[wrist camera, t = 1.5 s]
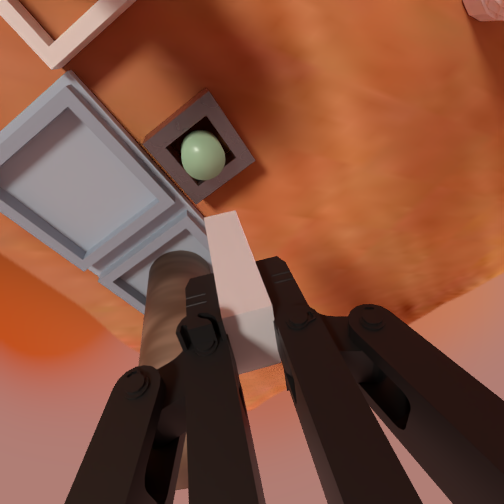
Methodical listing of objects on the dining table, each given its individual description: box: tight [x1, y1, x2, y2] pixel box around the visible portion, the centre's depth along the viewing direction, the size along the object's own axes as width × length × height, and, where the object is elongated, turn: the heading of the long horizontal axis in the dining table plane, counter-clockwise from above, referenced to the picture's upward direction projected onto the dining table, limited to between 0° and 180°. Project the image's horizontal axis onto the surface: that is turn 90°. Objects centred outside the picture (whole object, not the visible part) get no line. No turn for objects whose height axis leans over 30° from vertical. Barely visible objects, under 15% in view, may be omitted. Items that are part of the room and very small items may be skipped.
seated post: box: [139, 250, 211, 490], centre depth 28 cm, size 7×7×20 cm
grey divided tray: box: [0, 70, 214, 314], centre depth 32 cm, size 13×27×3 cm, turn 33°
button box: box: [143, 88, 255, 204], centre depth 28 cm, size 7×7×3 cm
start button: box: [181, 129, 225, 180], centre depth 27 cm, size 4×4×3 cm
